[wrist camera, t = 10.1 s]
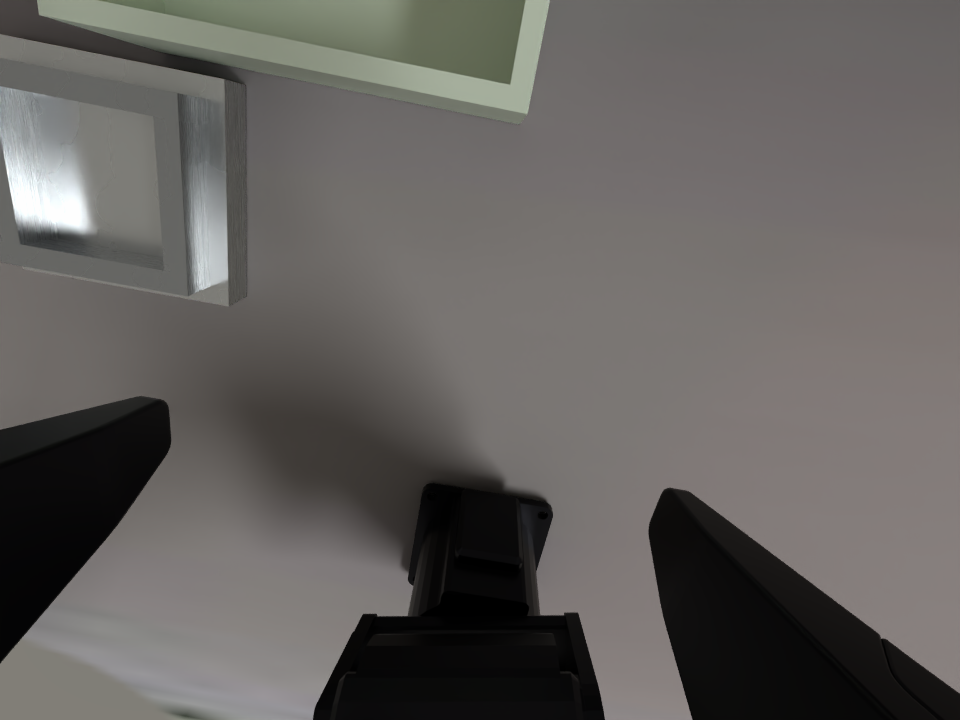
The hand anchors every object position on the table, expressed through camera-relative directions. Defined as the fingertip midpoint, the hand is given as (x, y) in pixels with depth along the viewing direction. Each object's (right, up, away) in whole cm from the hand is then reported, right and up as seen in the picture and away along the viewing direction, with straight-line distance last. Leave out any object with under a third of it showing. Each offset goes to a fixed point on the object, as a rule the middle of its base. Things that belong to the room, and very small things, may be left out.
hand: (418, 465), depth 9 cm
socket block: (-12, +9, +10) cm, 18 cm away
